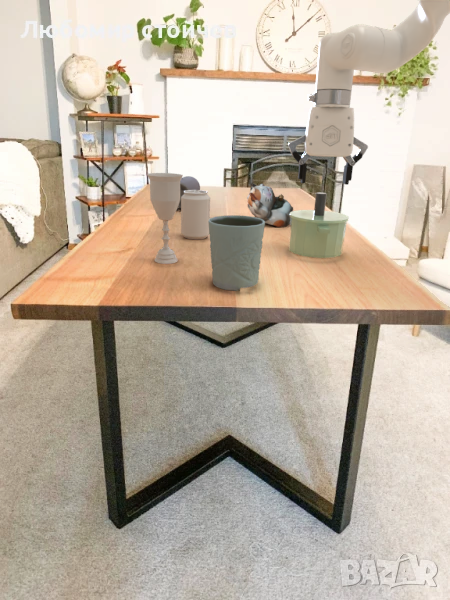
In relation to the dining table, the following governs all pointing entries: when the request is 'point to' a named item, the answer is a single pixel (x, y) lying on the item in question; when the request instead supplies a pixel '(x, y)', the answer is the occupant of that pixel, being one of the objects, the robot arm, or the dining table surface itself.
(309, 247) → the pot
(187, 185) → the bluetooth speaker
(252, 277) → the green ceramic cup
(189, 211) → the can
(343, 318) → the dining table surface
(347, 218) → the lid
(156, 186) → the chalice
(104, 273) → the dining table surface
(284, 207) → the lucky cat figurine
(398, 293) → the dining table surface
